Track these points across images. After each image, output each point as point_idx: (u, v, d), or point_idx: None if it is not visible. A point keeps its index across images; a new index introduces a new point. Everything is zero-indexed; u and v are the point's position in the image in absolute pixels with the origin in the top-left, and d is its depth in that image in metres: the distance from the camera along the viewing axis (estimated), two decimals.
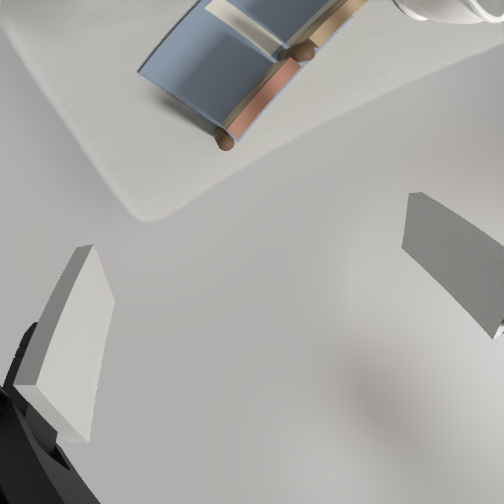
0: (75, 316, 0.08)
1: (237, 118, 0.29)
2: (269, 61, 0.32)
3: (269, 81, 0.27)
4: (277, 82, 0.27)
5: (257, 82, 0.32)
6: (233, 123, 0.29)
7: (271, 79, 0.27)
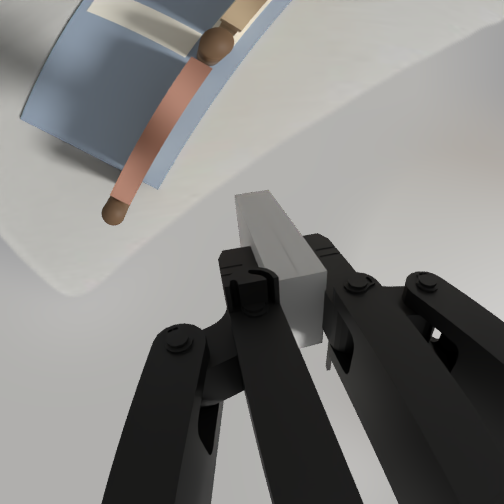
0: None
1: (121, 174, 0.18)
2: None
3: (161, 105, 0.16)
4: (174, 104, 0.17)
5: None
6: (117, 183, 0.18)
7: (163, 101, 0.16)
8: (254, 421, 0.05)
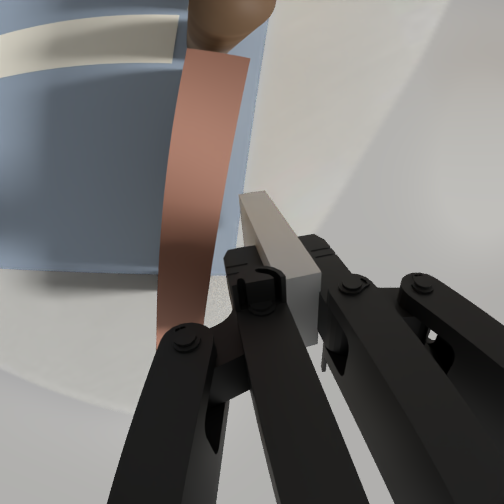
0: None
1: (159, 334, 0.10)
2: (179, 74, 0.12)
3: (169, 186, 0.07)
4: (198, 171, 0.07)
5: None
6: None
7: (171, 175, 0.07)
8: (261, 419, 0.05)
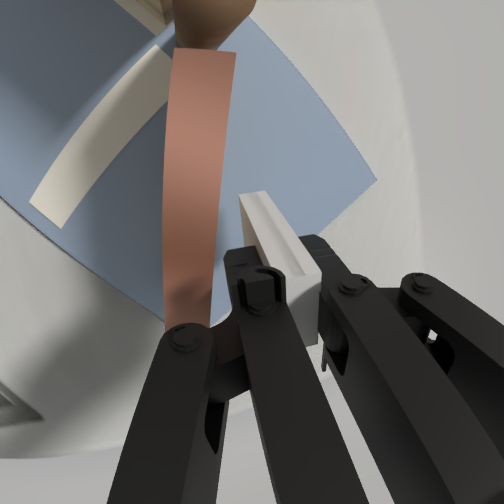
0: None
1: (168, 328, 0.10)
2: None
3: (167, 182, 0.08)
4: (194, 165, 0.08)
5: None
6: None
7: (168, 171, 0.08)
8: (261, 419, 0.05)
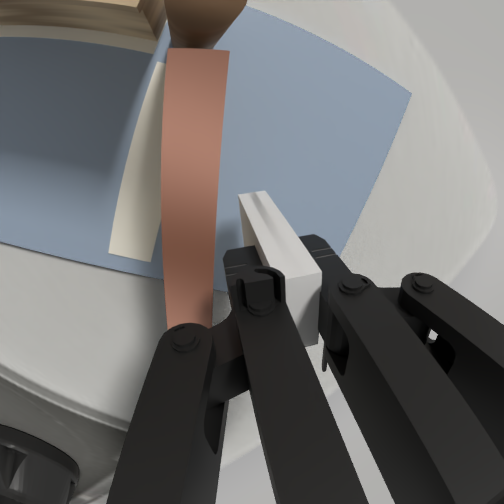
0: None
1: (170, 327, 0.10)
2: None
3: (165, 181, 0.08)
4: (191, 164, 0.08)
5: None
6: None
7: (166, 170, 0.08)
8: (260, 419, 0.05)
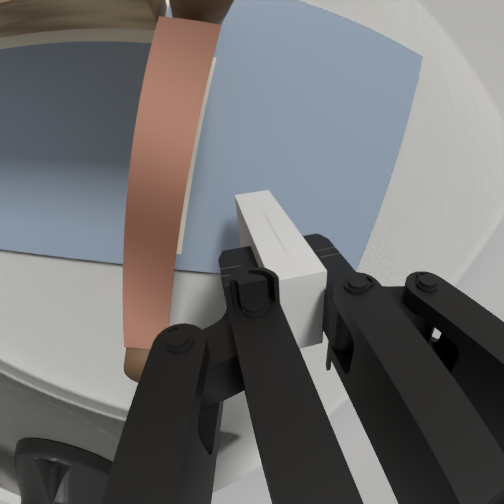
0: None
1: (126, 311, 0.09)
2: (229, 51, 0.12)
3: (136, 151, 0.07)
4: (165, 136, 0.07)
5: None
6: (127, 326, 0.09)
7: (138, 140, 0.07)
8: (254, 421, 0.05)
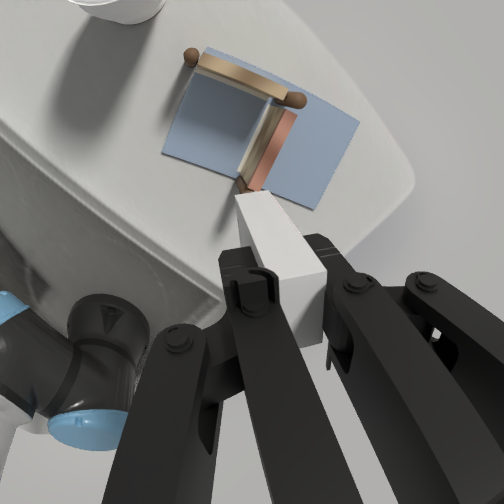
0: None
1: (254, 175, 0.35)
2: None
3: (273, 136, 0.33)
4: (280, 135, 0.33)
5: (262, 129, 0.38)
6: (252, 180, 0.35)
7: (274, 134, 0.33)
8: (254, 421, 0.05)
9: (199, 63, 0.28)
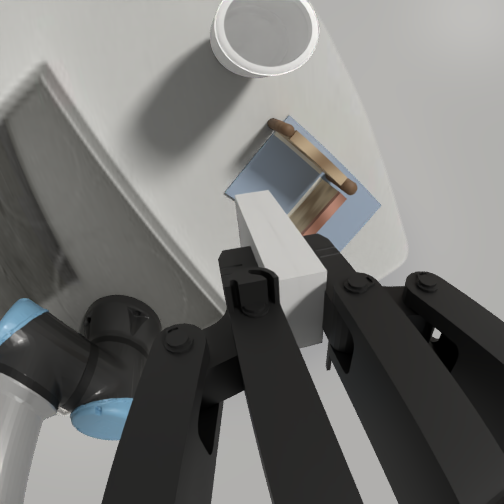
0: None
1: None
2: (333, 185, 0.49)
3: (325, 211, 0.43)
4: (330, 211, 0.43)
5: (310, 196, 0.48)
6: None
7: (326, 209, 0.43)
8: (254, 421, 0.05)
9: (291, 139, 0.37)
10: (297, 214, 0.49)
